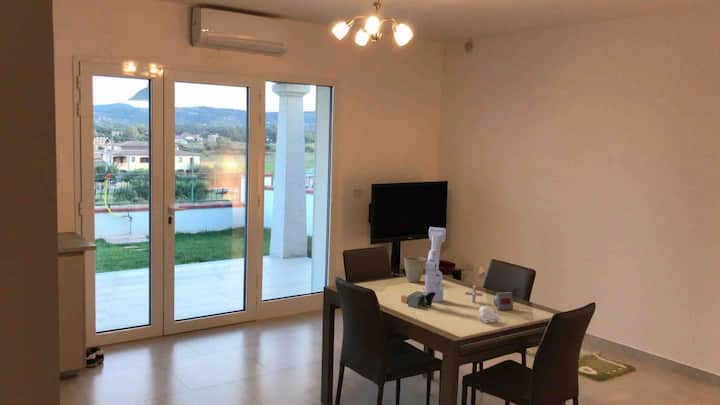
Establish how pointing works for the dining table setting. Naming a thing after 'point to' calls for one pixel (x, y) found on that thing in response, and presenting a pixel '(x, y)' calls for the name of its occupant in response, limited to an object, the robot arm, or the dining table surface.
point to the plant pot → (414, 268)
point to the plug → (405, 300)
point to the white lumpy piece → (488, 314)
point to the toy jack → (474, 294)
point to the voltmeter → (504, 300)
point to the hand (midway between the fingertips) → (429, 305)
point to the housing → (416, 299)
